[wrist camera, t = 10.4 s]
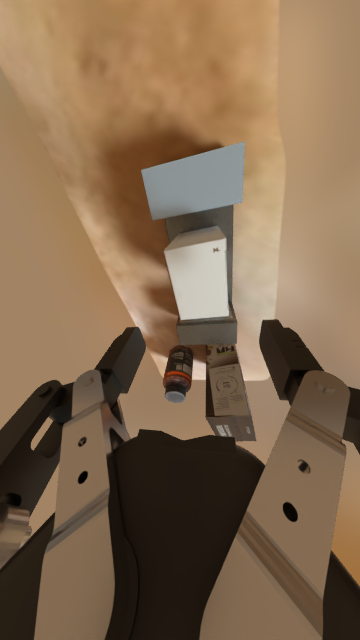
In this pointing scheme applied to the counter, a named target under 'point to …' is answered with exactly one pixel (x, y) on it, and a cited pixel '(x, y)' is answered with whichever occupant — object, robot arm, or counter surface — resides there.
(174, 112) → the counter surface
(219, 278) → the small box
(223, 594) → the robot arm
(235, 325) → the vise bed
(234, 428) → the coffee box
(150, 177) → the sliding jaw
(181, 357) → the supplement bottle
